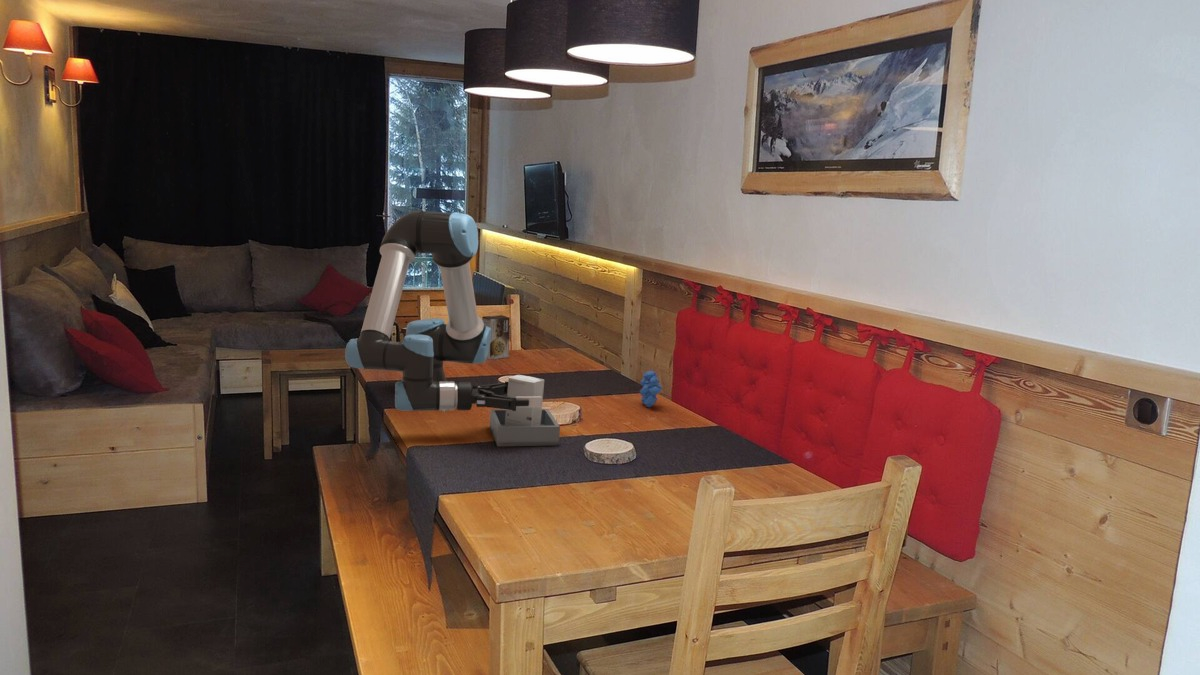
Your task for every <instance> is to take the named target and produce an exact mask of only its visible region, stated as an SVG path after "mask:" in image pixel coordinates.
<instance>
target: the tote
mask: <svg viewBox="0 0 1200 675" xmlns="http://www.w3.org/2000/svg"><path fill="white" fill-rule="evenodd" d="M505 415H506V409H499V408H490V409H489V429H490V432H491V434H492V437H493V439H494V441H495V444H496V446H497V447H533V446H534V447H541V446H559V445H560V437H561V435H560V434H561V433H560V432H561V428H560V426H561V425H560V424H559V423H558V422H557V420H556V419H555V417H554V416H553V414H552V413H551V412H550V410H549V409H548V408H542V413H541V425H540V426H505Z"/></svg>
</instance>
